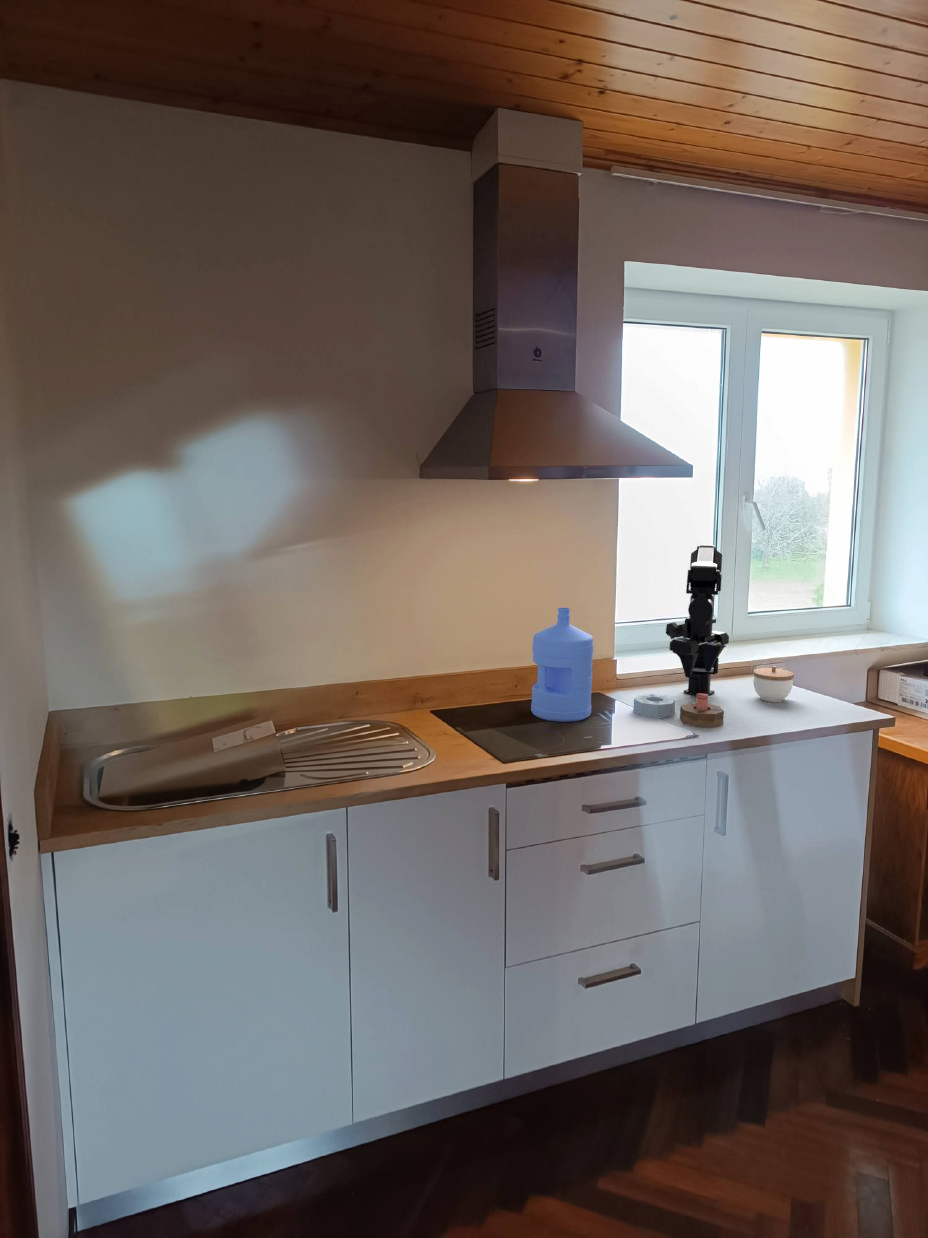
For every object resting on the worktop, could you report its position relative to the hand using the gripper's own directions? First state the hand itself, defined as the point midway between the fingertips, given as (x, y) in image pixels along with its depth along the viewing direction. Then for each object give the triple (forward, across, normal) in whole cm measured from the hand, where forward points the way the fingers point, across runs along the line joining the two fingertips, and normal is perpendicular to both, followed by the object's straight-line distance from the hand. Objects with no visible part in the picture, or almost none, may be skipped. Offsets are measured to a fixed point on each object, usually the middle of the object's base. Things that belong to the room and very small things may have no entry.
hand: (697, 674), depth 219 cm
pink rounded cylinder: (+12, +2, +3) cm, 12 cm away
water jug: (+12, +23, -26) cm, 37 cm away
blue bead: (+12, +3, -10) cm, 16 cm away
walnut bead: (+12, +2, +3) cm, 12 cm away
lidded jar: (+12, -32, +4) cm, 35 cm away
